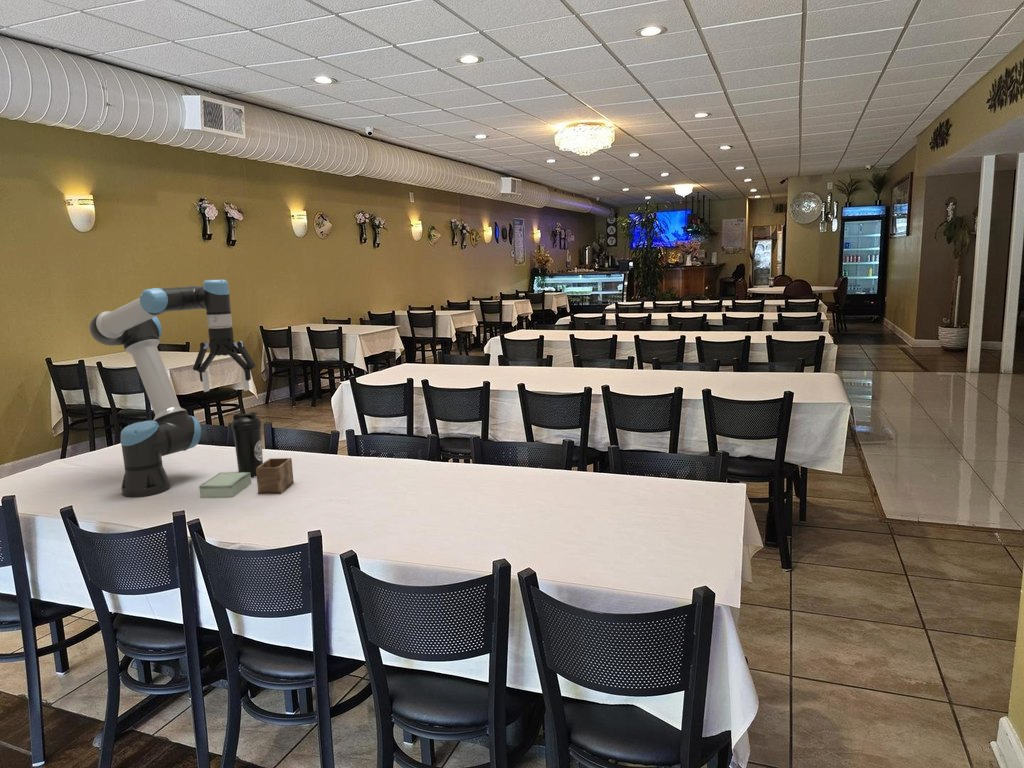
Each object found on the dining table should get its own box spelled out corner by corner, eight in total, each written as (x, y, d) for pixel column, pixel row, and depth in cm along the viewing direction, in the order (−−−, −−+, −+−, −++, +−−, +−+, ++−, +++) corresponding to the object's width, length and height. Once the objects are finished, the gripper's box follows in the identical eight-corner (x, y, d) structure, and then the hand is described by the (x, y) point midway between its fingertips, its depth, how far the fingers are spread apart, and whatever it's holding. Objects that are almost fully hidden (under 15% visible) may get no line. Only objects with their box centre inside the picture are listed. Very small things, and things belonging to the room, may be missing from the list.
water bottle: (260, 478, 257) (254, 416, 253) (232, 479, 257) (225, 416, 253) (270, 470, 267) (264, 410, 263) (243, 470, 267) (237, 410, 263)
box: (281, 493, 238) (278, 467, 237) (258, 494, 239) (255, 468, 237) (293, 482, 250) (291, 458, 248) (271, 483, 250) (269, 458, 249)
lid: (232, 496, 237) (231, 485, 236) (200, 497, 237) (199, 485, 237) (251, 483, 251) (250, 472, 251) (221, 483, 252) (219, 472, 251)
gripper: (177, 329, 231) (184, 393, 234) (252, 327, 229) (258, 391, 233) (189, 327, 238) (195, 389, 242) (262, 325, 237) (267, 387, 240)
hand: (226, 390), depth 237 cm, fingers open, 13 cm apart
